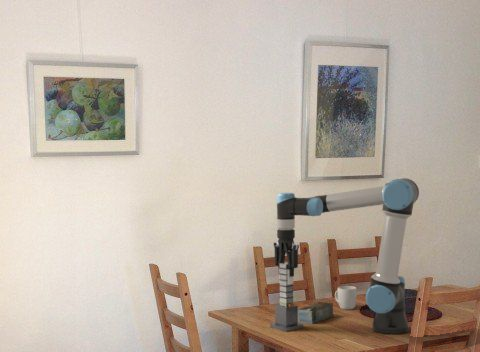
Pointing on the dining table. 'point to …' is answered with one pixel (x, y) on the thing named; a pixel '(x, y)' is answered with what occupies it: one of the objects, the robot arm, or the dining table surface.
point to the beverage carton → (315, 312)
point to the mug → (346, 297)
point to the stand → (286, 318)
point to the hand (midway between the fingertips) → (286, 283)
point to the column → (285, 286)
